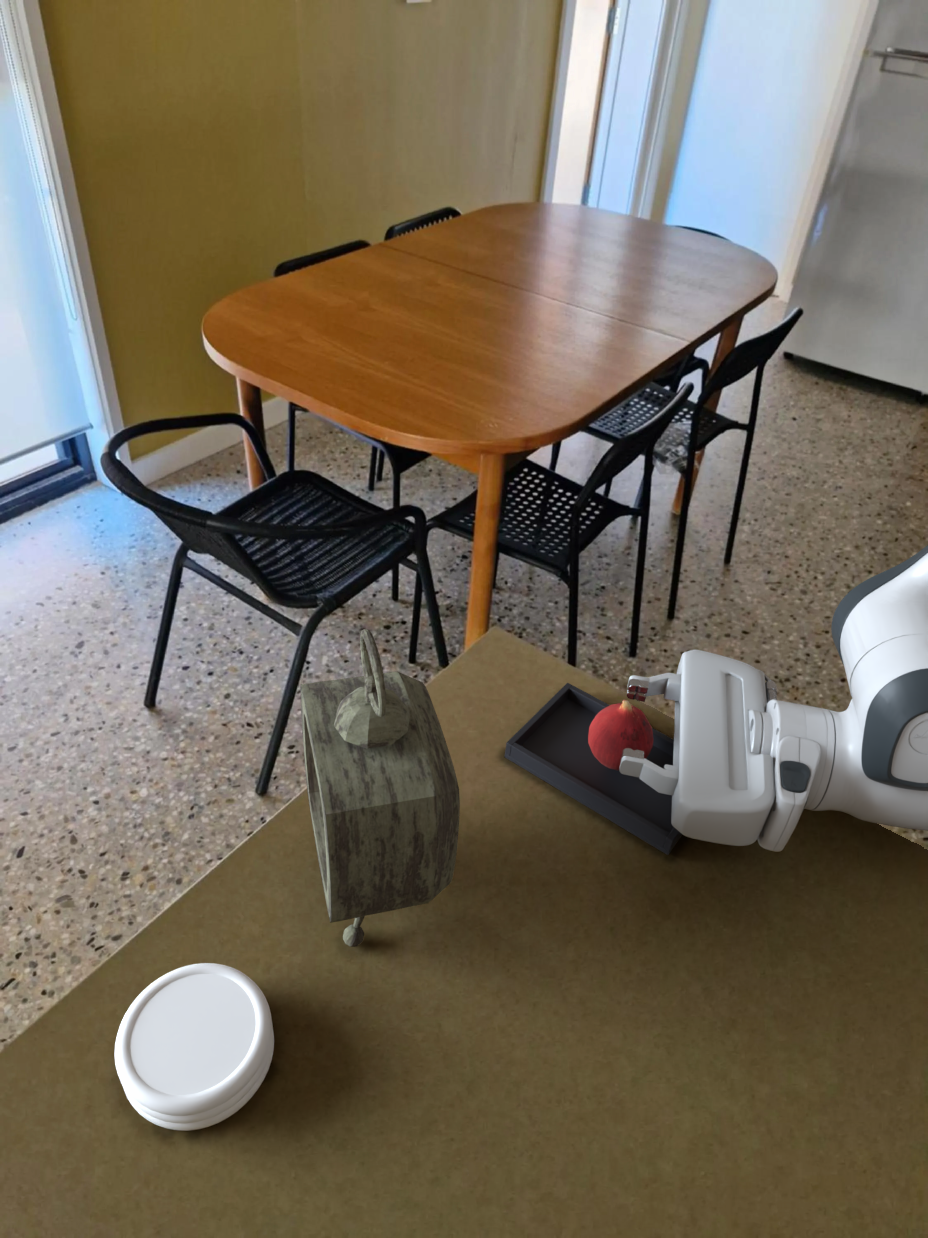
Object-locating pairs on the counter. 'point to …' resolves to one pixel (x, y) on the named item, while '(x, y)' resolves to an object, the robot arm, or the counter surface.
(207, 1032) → the white round flat cylinder
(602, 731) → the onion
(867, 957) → the counter surface
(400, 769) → the tabletop clock
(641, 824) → the baking tray
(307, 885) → the counter surface
